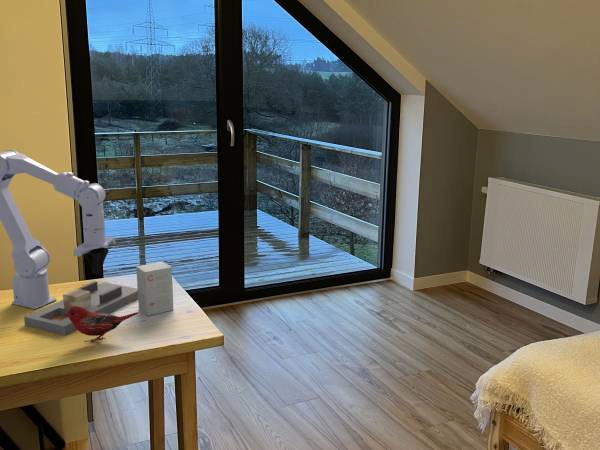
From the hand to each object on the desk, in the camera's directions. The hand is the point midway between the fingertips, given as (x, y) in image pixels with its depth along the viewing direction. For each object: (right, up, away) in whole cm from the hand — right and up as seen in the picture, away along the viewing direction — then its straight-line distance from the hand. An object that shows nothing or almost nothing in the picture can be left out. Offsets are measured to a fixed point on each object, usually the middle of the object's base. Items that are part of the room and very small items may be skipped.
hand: (97, 273), depth 167 cm
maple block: (-3, -8, -6) cm, 11 cm away
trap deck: (-2, -10, -2) cm, 11 cm away
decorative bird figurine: (+9, -15, -20) cm, 27 cm away
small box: (+17, -10, -1) cm, 20 cm away
